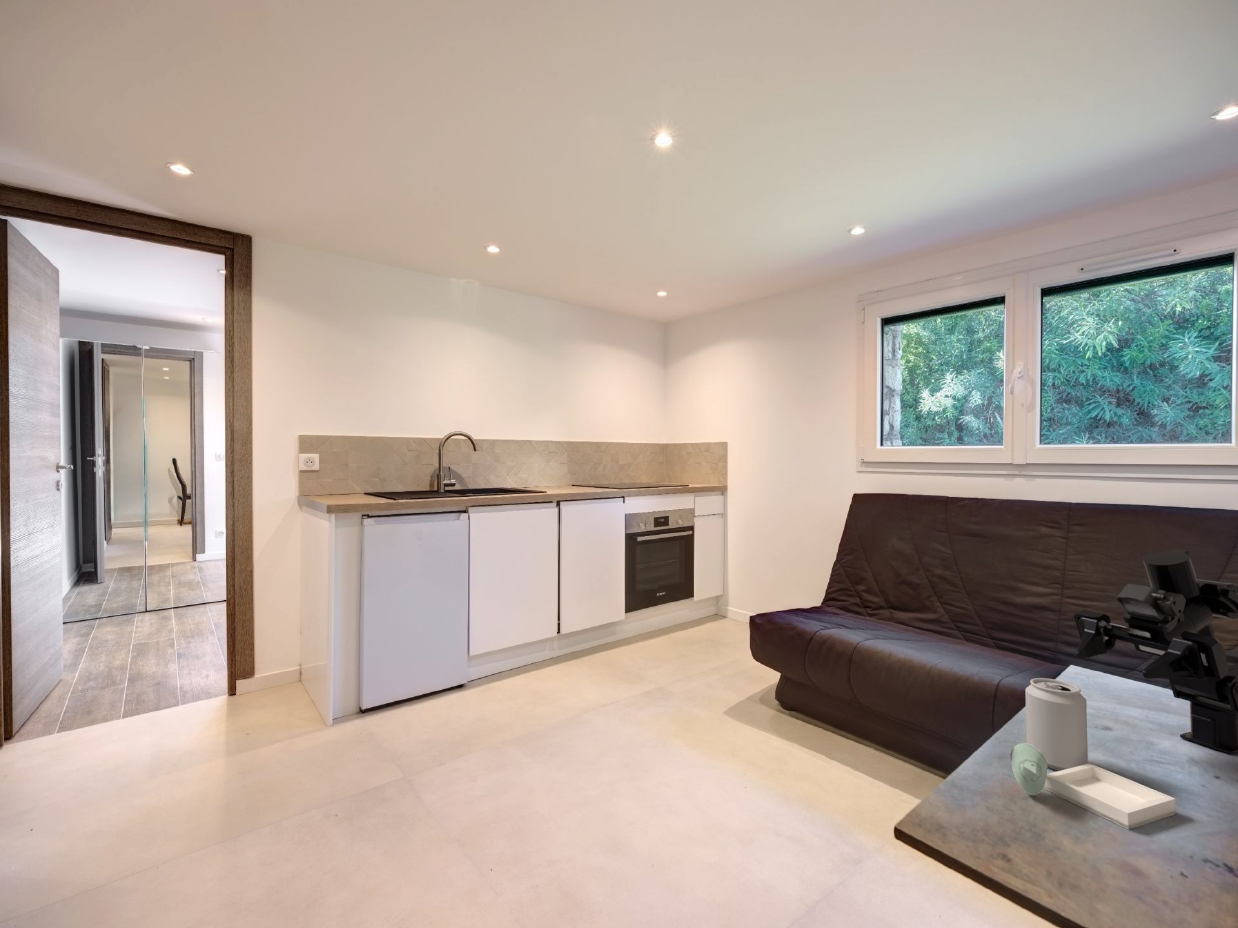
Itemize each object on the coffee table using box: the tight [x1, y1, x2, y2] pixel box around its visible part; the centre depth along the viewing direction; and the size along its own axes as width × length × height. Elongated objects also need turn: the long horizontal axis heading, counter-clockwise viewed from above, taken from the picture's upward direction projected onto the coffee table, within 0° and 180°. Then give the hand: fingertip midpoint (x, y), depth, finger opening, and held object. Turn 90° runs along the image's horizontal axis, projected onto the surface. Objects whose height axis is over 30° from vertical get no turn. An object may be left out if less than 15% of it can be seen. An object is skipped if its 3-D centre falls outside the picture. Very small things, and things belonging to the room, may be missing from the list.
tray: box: [1044, 762, 1176, 830], centre depth 76 cm, size 10×10×2 cm
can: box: [1025, 677, 1089, 771], centre depth 87 cm, size 8×8×12 cm
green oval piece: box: [1009, 742, 1048, 797], centre depth 77 cm, size 8×4×7 cm, turn 136°
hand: (1109, 665), depth 87 cm, fingers open, 9 cm apart
